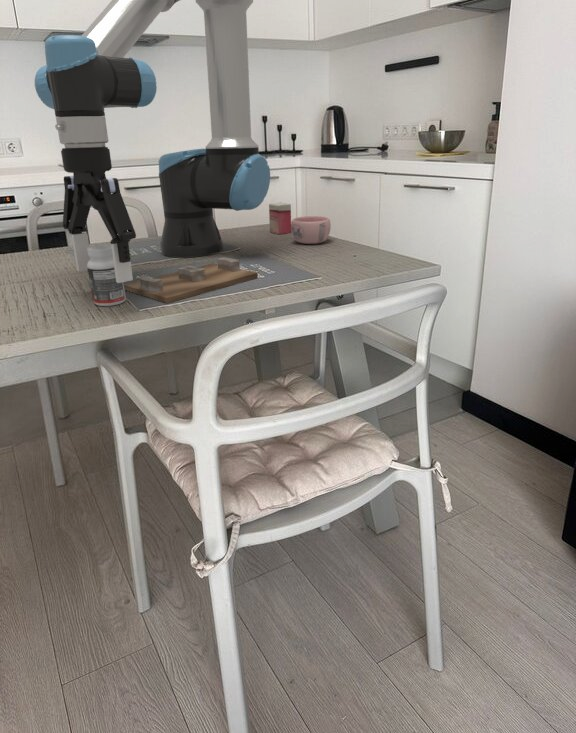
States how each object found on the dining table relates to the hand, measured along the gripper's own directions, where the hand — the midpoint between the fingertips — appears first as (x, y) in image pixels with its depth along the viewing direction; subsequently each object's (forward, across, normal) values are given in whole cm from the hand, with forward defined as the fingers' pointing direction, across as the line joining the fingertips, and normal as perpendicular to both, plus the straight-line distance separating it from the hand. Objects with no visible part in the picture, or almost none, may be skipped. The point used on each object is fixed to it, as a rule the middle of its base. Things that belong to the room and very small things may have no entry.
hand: (104, 275), depth 101 cm
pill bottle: (+5, 0, 0) cm, 5 cm away
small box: (+4, -22, +66) cm, 70 cm away
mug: (+4, -7, +62) cm, 62 cm away
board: (+5, +2, +18) cm, 18 cm away
